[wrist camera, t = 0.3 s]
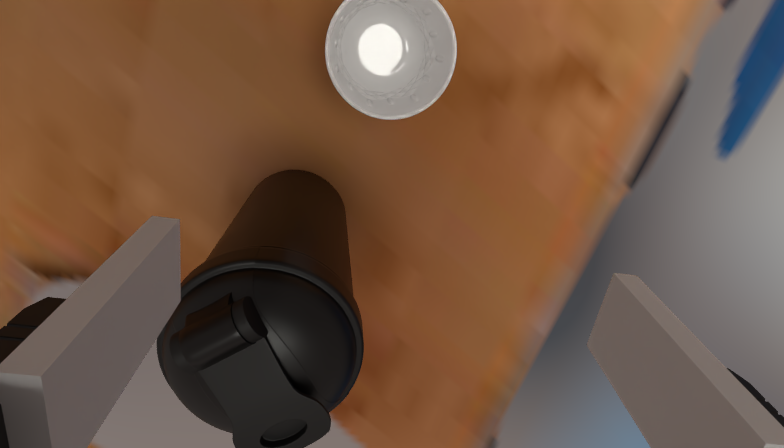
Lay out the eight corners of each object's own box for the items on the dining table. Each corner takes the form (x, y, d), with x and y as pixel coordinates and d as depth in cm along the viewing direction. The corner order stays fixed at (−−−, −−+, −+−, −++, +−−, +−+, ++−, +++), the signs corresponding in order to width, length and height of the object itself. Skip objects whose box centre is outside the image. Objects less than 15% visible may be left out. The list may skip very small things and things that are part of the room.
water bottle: (277, 289, 46) (220, 514, 25) (211, 195, 42) (76, 363, 21) (376, 238, 45) (405, 426, 24) (317, 137, 41) (289, 252, 20)
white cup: (316, 79, 40) (307, 93, 30) (348, -25, 37) (350, -44, 28) (408, 113, 41) (427, 137, 32) (445, 16, 39) (477, 11, 30)
